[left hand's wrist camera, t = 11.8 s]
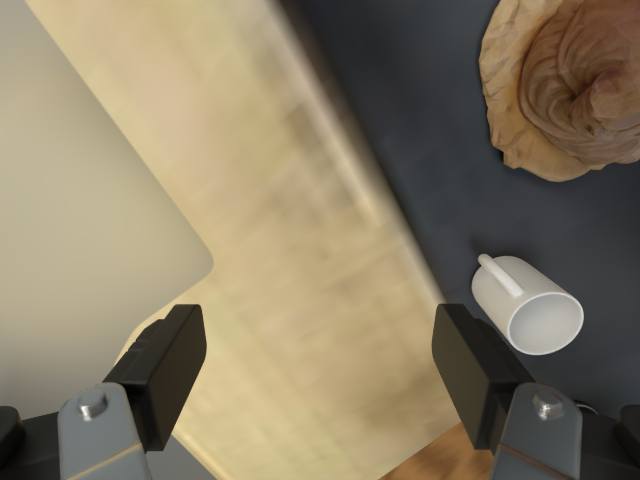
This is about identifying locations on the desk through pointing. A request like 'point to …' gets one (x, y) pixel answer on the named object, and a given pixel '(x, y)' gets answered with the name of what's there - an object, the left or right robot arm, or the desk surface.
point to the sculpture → (563, 84)
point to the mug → (526, 305)
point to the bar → (446, 460)
